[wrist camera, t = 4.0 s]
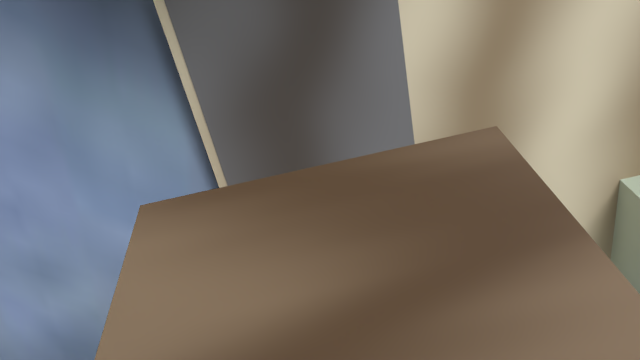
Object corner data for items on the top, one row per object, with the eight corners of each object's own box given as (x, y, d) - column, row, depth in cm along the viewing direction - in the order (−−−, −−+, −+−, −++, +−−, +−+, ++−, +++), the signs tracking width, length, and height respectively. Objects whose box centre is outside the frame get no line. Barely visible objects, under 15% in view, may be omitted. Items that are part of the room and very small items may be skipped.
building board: (837, -283, 14) (876, -291, 13) (708, 247, 24) (726, 263, 23) (121, -117, 15) (112, -114, 14) (278, 340, 24) (279, 359, 23)
